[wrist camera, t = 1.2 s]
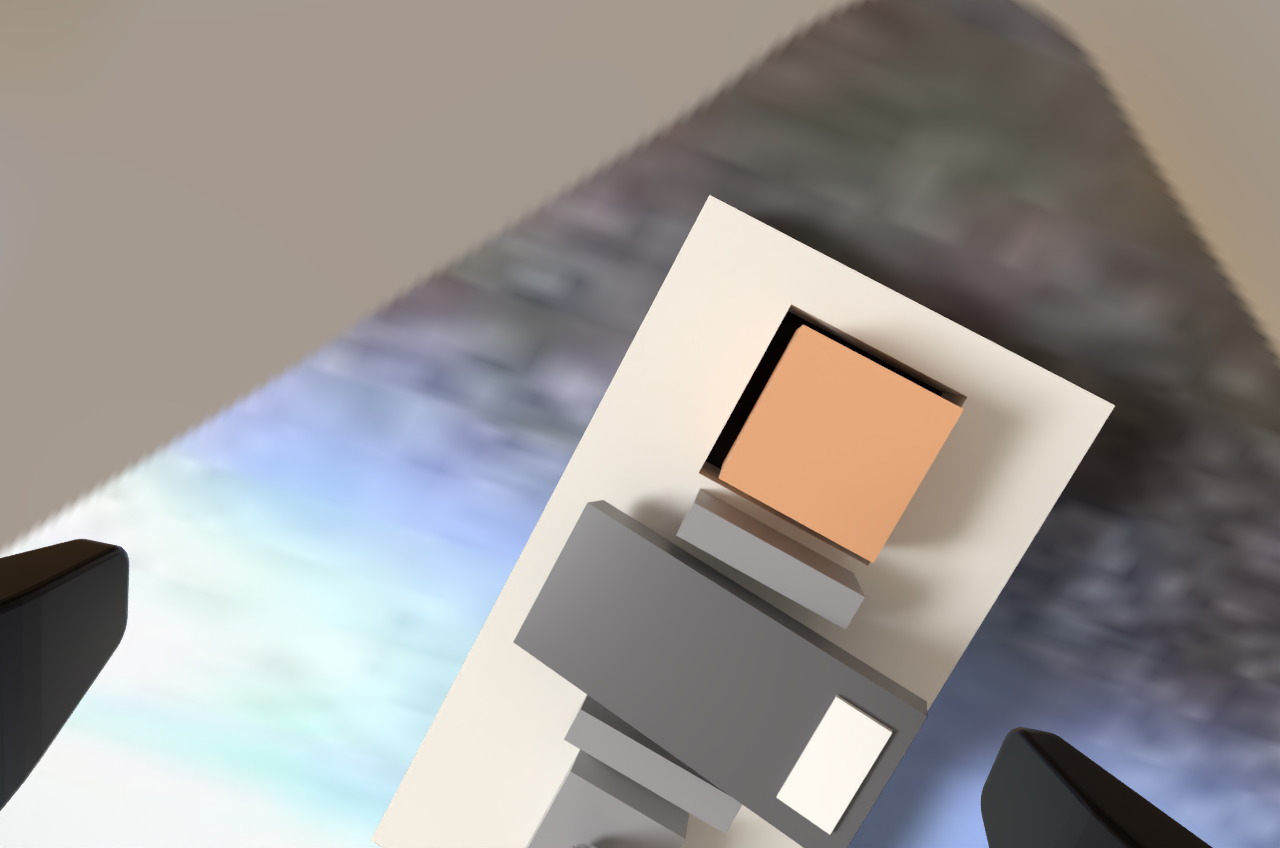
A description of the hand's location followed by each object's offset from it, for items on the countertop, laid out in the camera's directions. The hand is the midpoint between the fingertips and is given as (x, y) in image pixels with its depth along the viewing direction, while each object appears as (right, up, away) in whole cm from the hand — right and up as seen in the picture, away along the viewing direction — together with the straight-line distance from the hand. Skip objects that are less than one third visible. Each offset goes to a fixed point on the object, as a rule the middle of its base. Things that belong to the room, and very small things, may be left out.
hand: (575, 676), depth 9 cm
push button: (+5, +2, +12) cm, 13 cm away
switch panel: (+3, -2, +14) cm, 14 cm away
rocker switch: (+2, -3, +10) cm, 10 cm away
